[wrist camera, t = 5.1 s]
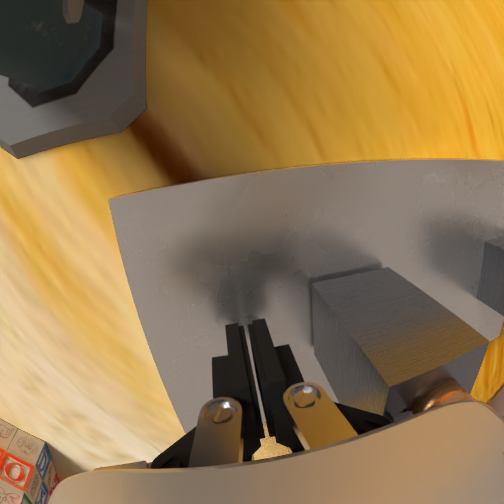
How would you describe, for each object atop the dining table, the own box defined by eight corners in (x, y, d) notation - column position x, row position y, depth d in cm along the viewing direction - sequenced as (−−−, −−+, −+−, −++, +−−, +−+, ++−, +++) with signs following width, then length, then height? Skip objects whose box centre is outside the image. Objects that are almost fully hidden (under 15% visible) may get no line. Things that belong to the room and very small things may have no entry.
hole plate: (511, 160, 14) (523, 162, 13) (490, 329, 19) (499, 336, 18) (117, 196, 12) (108, 199, 11) (185, 419, 17) (185, 433, 16)
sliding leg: (388, 266, 13) (508, 356, 6) (383, 335, 15) (469, 436, 7) (311, 282, 13) (407, 411, 6) (314, 353, 14) (379, 483, 7)
